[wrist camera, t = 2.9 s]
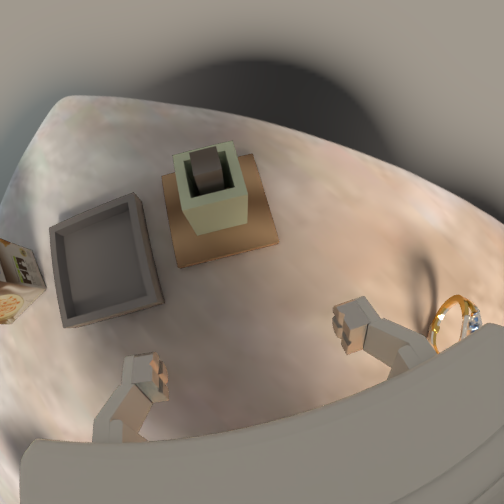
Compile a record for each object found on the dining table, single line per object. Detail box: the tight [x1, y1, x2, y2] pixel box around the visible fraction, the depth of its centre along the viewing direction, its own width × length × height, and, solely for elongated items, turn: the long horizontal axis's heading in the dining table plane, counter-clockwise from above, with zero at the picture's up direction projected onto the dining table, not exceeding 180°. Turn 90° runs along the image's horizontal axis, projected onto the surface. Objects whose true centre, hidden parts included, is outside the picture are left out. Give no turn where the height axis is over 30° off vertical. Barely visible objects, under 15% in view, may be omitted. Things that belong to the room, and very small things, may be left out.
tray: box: [49, 192, 165, 328], centre depth 26 cm, size 11×11×2 cm
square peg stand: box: [162, 146, 279, 268], centre depth 24 cm, size 10×10×10 cm
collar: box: [172, 141, 248, 236], centre depth 25 cm, size 6×5×7 cm
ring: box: [428, 295, 482, 354], centre depth 23 cm, size 7×3×8 cm, turn 154°
